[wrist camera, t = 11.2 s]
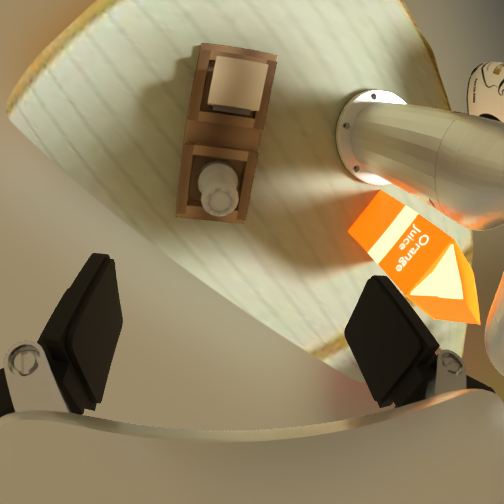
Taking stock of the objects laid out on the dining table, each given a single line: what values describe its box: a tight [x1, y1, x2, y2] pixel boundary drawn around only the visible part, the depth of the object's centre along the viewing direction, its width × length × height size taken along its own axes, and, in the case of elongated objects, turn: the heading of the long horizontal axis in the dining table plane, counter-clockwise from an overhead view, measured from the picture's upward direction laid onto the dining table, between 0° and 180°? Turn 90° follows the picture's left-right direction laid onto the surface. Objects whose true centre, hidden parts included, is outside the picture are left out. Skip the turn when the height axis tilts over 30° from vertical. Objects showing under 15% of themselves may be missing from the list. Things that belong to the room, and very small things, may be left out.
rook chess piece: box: [197, 160, 239, 217], centre depth 26 cm, size 4×4×8 cm
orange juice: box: [348, 190, 480, 324], centre depth 28 cm, size 8×9×20 cm
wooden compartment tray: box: [176, 43, 277, 224], centre depth 24 cm, size 8×20×9 cm, turn 169°
